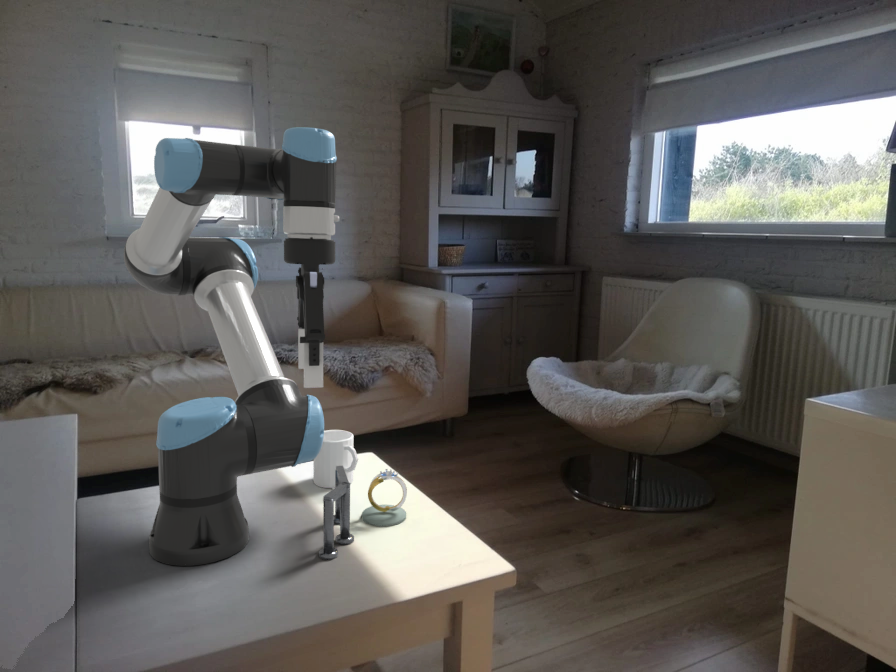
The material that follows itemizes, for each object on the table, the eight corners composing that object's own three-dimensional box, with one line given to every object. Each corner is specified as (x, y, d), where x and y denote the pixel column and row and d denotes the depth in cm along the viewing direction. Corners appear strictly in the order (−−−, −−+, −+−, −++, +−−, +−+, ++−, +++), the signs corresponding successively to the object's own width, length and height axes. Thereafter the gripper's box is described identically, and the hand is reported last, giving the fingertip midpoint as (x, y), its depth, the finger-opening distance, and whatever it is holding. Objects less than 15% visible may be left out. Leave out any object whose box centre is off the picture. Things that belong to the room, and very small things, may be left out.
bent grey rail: (290, 552, 104) (290, 492, 103) (336, 515, 118) (336, 463, 117) (332, 561, 102) (332, 500, 100) (373, 522, 116) (374, 469, 114)
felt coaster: (354, 521, 116) (354, 518, 116) (373, 504, 123) (373, 501, 123) (395, 529, 113) (395, 526, 113) (412, 511, 121) (412, 508, 121)
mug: (340, 497, 126) (340, 448, 125) (306, 480, 135) (305, 434, 133) (372, 487, 132) (373, 440, 131) (338, 471, 140) (338, 427, 139)
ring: (406, 509, 120) (407, 468, 119) (405, 516, 117) (406, 474, 116) (369, 508, 120) (369, 467, 119) (367, 515, 117) (367, 473, 116)
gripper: (345, 238, 86) (344, 395, 89) (327, 237, 109) (326, 361, 113) (287, 236, 84) (288, 397, 87) (281, 236, 107) (282, 362, 111)
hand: (310, 377), depth 100 cm, fingers open, 13 cm apart
